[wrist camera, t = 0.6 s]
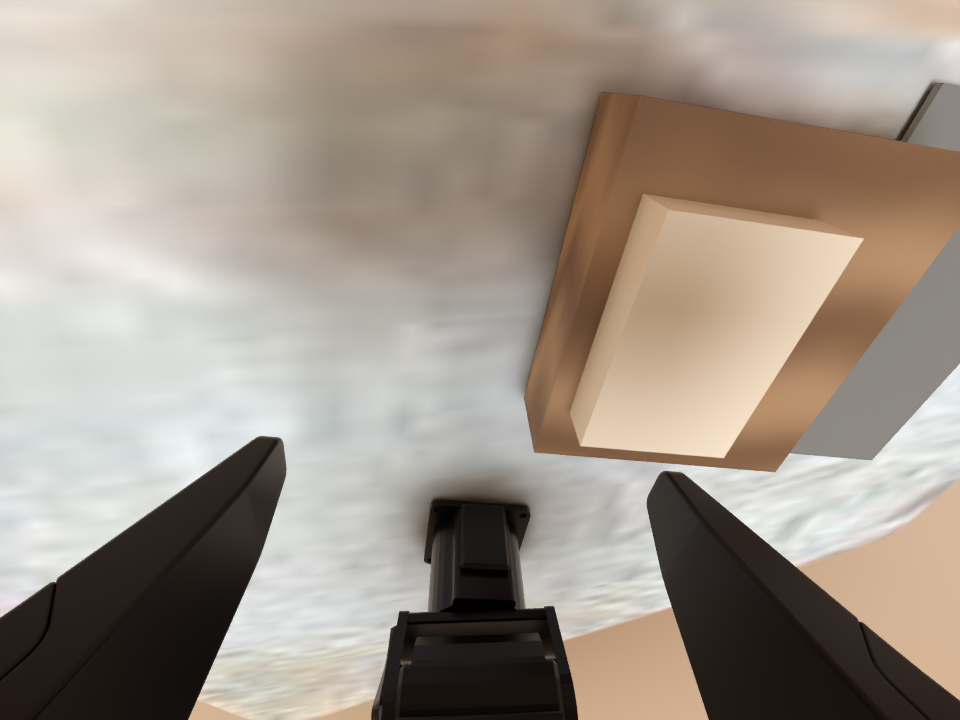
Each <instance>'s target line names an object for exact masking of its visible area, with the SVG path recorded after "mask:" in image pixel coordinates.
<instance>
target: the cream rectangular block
mask: <svg viewBox="0 0 960 720" xmlns="http://www.w3.org/2000/svg"><path fill="white" fill-rule="evenodd" d="M863 240H864V238H861V237H859V236H856V235H854V234H851V233H849V232H846V231H844V230H841V229H838V228H836V227H833V226H831V225H828V224H826V223H823V222H821V221H818V220H815V219H808V218H801V217H795V216H788V215H781V214H775V213H768V212H761V211H755V210H748V209H742V208H735V207H728V206H722V205H715V204H708V203H702V202H695V201H688V200H682V199H675V198H669V197H662V196H655V195H649V194H643V195H642V198H641V201H640V204H639V207H638V210H637V213H636V216H635V219H634V222H633V225H632V228H631V231H630V234H629V237H628V240H627V243H626V246H625V249H624V252H623V255H622V258H621V261H620V264H619V267H618V270H617V273H616V275H615V278H614V281H613V284H612V287H611V290H610V293H609V296H608V299H607V302H606V305H605V308H604V311H603V314H602V317H601V320H600V323H599V326H598V329H597V332H596V335H595V338H594V341H593V344H592V347H591V350H590V353H589V356H588V359H587V362H586V365H585V368H584V371H583V374H582V377H581V380H580V383H579V386H578V389H577V392H576V395H575V398H574V401H573V404H572V407H571V410H570V416H571V419H572V422H573V425H574V428H575V431H576V434H577V438H578V441H579V444H580V446H585V447H597V448H609V449H620V450H632V451H644V452H656V453H668V454H680V455H692V456H704V457H715V458H724V457H725V455H726V454H727V452H728V451H729V449H730V448H731V446H732V445H733V443H734V441H735V440H736V438H737V437H738V435H739V434H740V432H741V430H742V429H743V427H744V426H745V424H746V423H747V421H748V419H749V418H750V416H751V415H752V413H753V412H754V410H755V409H756V407H757V405H758V404H759V402H760V401H761V399H762V398H763V396H764V394H765V393H766V391H767V390H768V388H769V387H770V385H771V383H772V382H773V380H774V379H775V377H776V376H777V374H778V373H779V371H780V369H781V368H782V366H783V365H784V363H785V362H786V360H787V358H788V357H789V355H790V354H791V352H792V351H793V349H794V348H795V346H796V344H797V343H798V341H799V340H800V338H801V337H802V335H803V333H804V332H805V330H806V329H807V327H808V326H809V324H810V322H811V321H812V319H813V318H814V316H815V315H816V313H817V312H818V310H819V308H820V307H821V305H822V304H823V302H824V301H825V299H826V297H827V296H828V294H829V293H830V291H831V290H832V288H833V286H834V285H835V283H836V282H837V280H838V279H839V277H840V276H841V274H842V272H843V271H844V269H845V268H846V266H847V265H848V263H849V261H850V260H851V258H852V257H853V255H854V254H855V252H856V250H857V249H858V247H859V246H860V244H861V243H862V241H863Z"/></svg>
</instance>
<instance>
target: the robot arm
mask: <svg viewBox="0 0 960 720" xmlns="http://www.w3.org/2000/svg"><path fill="white" fill-rule="evenodd" d="M285 477H286V460H285V452H284V445H283V441H282V439H281V438H278V437H267V436H259V437H257V438H255V439H254V440H252V441H251V442H249V443H248V444H247V445H245V446H244V447H242V448H241V449H239V450H238V451H237V452H235V453H234V454H232V455H231V456H230V457H228V458H227V459H225V460H224V461H222V462H221V463H220V464H218V465H217V466H215V467H214V468H213V469H211V470H210V471H208V472H207V473H205V474H204V475H203V476H201V477H200V478H198V479H197V480H196V481H194V482H193V483H191V484H190V485H188V486H187V487H186V488H184V489H183V490H181V491H180V492H179V493H177V494H176V495H174V496H173V497H171V498H170V499H169V500H167V501H166V502H164V503H163V504H162V505H160V506H159V507H157V508H156V509H154V510H153V511H152V512H150V513H149V514H147V515H146V516H145V517H143V518H142V519H140V520H139V521H137V522H136V523H135V524H133V525H132V526H130V527H129V528H128V529H126V530H125V531H123V532H122V533H120V534H119V535H118V536H116V537H115V538H113V539H112V540H111V541H109V542H108V543H106V544H105V545H103V546H102V547H101V548H99V549H98V550H96V551H95V552H93V553H92V554H91V555H89V556H88V557H86V558H85V559H84V560H82V561H81V562H79V563H78V564H76V565H75V566H74V567H72V568H71V569H69V570H68V571H67V572H65V573H64V574H62V575H61V576H59V577H58V579H57V581H56V582H51V583H49V584H48V585H46V586H45V587H44V588H42V589H41V590H39V591H38V592H36V593H35V594H34V595H32V596H31V597H29V598H28V599H27V600H25V601H24V602H22V603H21V604H19V605H18V606H17V607H15V608H14V609H12V610H11V611H9V612H8V613H6V614H5V615H3V616H2V617H0V720H188V718H189V716H190V714H191V712H192V710H193V707H194V705H195V703H196V701H197V698H198V696H199V694H200V692H201V689H202V687H203V685H204V683H205V680H206V678H207V676H208V674H209V671H210V669H211V667H212V665H213V662H214V660H215V658H216V656H217V653H218V651H219V649H220V647H221V644H222V642H223V640H224V638H225V635H226V633H227V631H228V629H229V626H230V624H231V622H232V619H233V617H234V615H235V613H236V610H237V608H238V606H239V604H240V601H241V599H242V597H243V595H244V592H245V590H246V588H247V586H248V583H249V581H250V579H251V577H252V574H253V572H254V570H255V568H256V565H257V563H258V560H259V558H260V555H261V553H262V550H263V547H264V544H265V541H266V538H267V535H268V531H269V528H270V525H271V522H272V519H273V516H274V512H275V509H276V506H277V503H278V500H279V497H280V493H281V490H282V487H283V484H284V481H285ZM647 510H648V514H649V519H650V523H651V528H652V532H653V537H654V542H655V546H656V551H657V555H658V560H659V564H660V569H661V573H662V577H663V580H664V583H665V587H666V590H667V593H668V596H669V599H670V602H671V605H672V608H673V611H674V615H675V618H676V621H677V624H678V627H679V630H680V633H681V636H682V639H683V642H684V645H685V648H686V651H687V654H688V657H689V660H690V664H691V666H692V669H693V672H694V676H695V679H696V682H697V685H698V688H699V691H700V694H701V697H702V700H703V703H704V706H705V709H706V712H707V716H708V719H709V720H960V700H958V699H957V698H956V697H955V696H953V695H952V694H951V693H949V692H948V691H947V690H946V689H944V688H943V687H942V686H940V685H939V684H938V683H936V682H935V681H934V680H933V679H931V678H930V677H929V676H927V675H926V674H925V673H924V672H922V671H921V670H920V669H919V668H917V667H916V666H915V665H914V664H912V663H911V662H910V661H909V660H908V659H906V658H905V657H904V656H903V655H901V654H900V653H899V652H898V651H896V650H895V649H894V648H893V647H892V646H890V645H889V644H888V643H887V642H885V641H884V640H883V639H882V638H881V637H879V636H878V635H877V634H876V633H875V632H873V631H872V630H871V629H870V628H869V627H868V626H866V625H865V624H864V623H862V622H859V621H858V619H857V618H856V617H855V616H854V615H853V614H852V613H851V612H849V611H848V610H847V609H846V608H844V607H843V606H842V605H841V604H840V603H839V602H837V601H836V600H835V599H834V598H832V597H831V596H830V595H829V594H828V593H827V592H825V591H824V590H823V589H822V588H821V587H819V586H818V585H817V584H816V583H814V582H813V581H812V580H811V579H810V578H808V577H807V576H806V575H805V574H804V573H803V572H801V571H800V570H799V569H798V568H796V567H795V566H794V565H793V564H792V563H790V562H789V561H788V560H787V559H786V558H784V557H783V556H782V555H781V554H780V553H778V552H777V551H776V550H775V549H774V548H772V547H771V546H770V545H769V544H768V543H766V542H765V541H764V540H763V539H762V538H760V537H759V536H758V535H757V534H756V533H754V532H753V531H752V530H751V529H750V528H748V527H747V526H746V525H745V524H744V523H742V522H741V521H740V520H739V519H738V518H736V517H735V516H734V515H733V514H732V513H730V512H729V511H728V510H727V509H726V508H724V507H723V506H722V505H721V504H720V503H718V502H717V501H716V500H715V499H714V498H712V497H711V496H710V495H709V494H708V493H706V492H705V491H704V490H703V489H702V488H700V487H699V486H698V485H697V484H696V483H694V482H693V481H692V480H691V479H690V478H688V477H687V476H686V475H685V474H683V473H680V472H672V471H663V472H662V473H660V474H659V476H658V478H657V480H656V482H655V484H654V485H653V487H652V489H651V491H650V493H649V495H648V498H647ZM529 519H530V509H529V507H527V506H522V505H507V504H492V503H477V502H463V501H448V500H435V501H433V502H432V503H431V506H430V514H429V522H428V530H427V538H426V546H425V554H424V561H425V562H426V563H427V564H431V573H430V588H429V603H428V612H419V613H410V612H409V611H400V612H399V617H398V622H397V625H396V626H394V627H393V628H391V632H390V640H389V647H388V654H387V660H386V664H385V668H384V671H383V674H382V678H381V681H380V684H379V687H378V691H377V694H376V697H375V700H374V704H373V707H372V714H371V720H578V713H577V705H576V698H575V693H574V686H573V682H572V677H571V673H570V669H569V665H568V661H567V657H566V653H565V649H564V645H563V641H562V637H561V633H560V629H559V625H558V621H557V617H556V613H555V609H554V606H544V608H534V609H526V608H525V600H524V591H523V583H522V574H521V566H520V557H519V550H520V547H521V544H522V541H523V537H524V534H525V531H526V528H527V525H528V522H529Z"/></svg>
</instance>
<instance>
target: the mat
mask: <svg viewBox="0 0 960 720" xmlns="http://www.w3.org/2000/svg"><path fill="white" fill-rule="evenodd" d="M901 141H902V142H907V143H913V144H919V145H924V146H930V147H936V148H941V149H947V150H953V151H958V152H960V86H954V85H949V84H944V83H936V84H935V85H934V87H933V89H932V90H931V92H930V93H929V95H928V97H927V98H926V100H925V102H924V103H923V105H922V107H921V108H920V110H919V112H918V113H917V115H916V116H915V118H914V120H913V121H912V123H911V125H910V126H909V128H908V130H907V131H906V133H905V135H904V136H903V138H902V139H901ZM959 364H960V226H959V228H958V229H957V230H956V232H955V233H954V234H953V236H952V237H951V238H950V240H949V241H948V242H947V244H946V245H945V246H944V248H943V249H942V250H941V252H940V253H939V254H938V256H937V257H936V258H935V260H934V261H933V262H932V264H931V265H930V266H929V268H928V269H927V270H926V272H925V273H924V274H923V276H922V277H921V278H920V280H919V281H918V282H917V284H916V285H915V286H914V288H913V289H912V290H911V292H910V293H909V294H908V296H907V297H906V298H905V300H904V301H903V302H902V304H901V305H900V306H899V308H898V309H897V310H896V312H895V313H894V314H893V316H892V317H891V318H890V320H889V321H888V322H887V324H886V325H885V326H884V328H883V329H882V330H881V332H880V333H879V334H878V336H877V337H876V338H875V340H874V341H873V342H872V344H871V345H870V346H869V348H868V349H867V350H866V352H865V353H864V354H863V356H862V357H861V358H860V360H859V361H858V362H857V364H856V365H855V366H854V368H853V369H852V370H851V372H850V373H849V374H848V376H847V377H846V378H845V380H844V381H843V382H842V384H841V385H840V386H839V388H838V389H837V390H836V392H835V393H834V394H833V396H832V397H831V398H830V400H829V401H828V402H827V404H826V405H825V406H824V408H823V409H822V410H821V412H820V413H819V414H818V416H817V417H816V418H815V420H814V421H813V422H812V424H811V425H810V426H809V428H808V429H807V430H806V432H805V433H804V434H803V436H802V437H801V438H800V440H799V441H798V442H797V444H796V445H795V446H794V448H793V449H792V450H791V452H790V453H794V454H805V455H817V456H828V457H840V458H851V459H863V460H872V459H873V458H874V457H875V456H876V455H877V454H878V453H879V452H880V451H881V450H882V448H883V447H884V446H885V445H886V444H887V443H888V442H889V441H890V440H891V439H892V437H893V436H894V435H895V434H896V433H897V432H898V431H899V430H900V429H901V428H902V426H903V425H904V424H905V423H906V422H907V421H908V420H909V419H910V418H911V417H912V415H913V414H914V413H915V412H916V411H917V410H918V409H919V408H920V407H921V405H922V404H923V403H924V402H925V401H926V400H927V399H928V398H929V397H930V396H931V394H932V393H933V392H934V391H935V390H936V389H937V388H938V387H939V386H940V385H941V383H942V382H943V381H944V380H945V379H946V378H947V377H948V376H949V375H950V374H951V372H952V371H953V370H954V369H955V368H956V367H957V366H958V365H959Z"/></svg>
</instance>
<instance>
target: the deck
mask: <svg viewBox="0 0 960 720" xmlns="http://www.w3.org/2000/svg"><path fill="white" fill-rule="evenodd" d="M643 194H649V195H655V196H662V197H669V198H675V199H682V200H688V201H695V202H702V203H708V204H715V205H722V206H728V207H735V208H742V209H748V210H755V211H761V212H768V213H775V214H781V215H788V216H795V217H801V218H808V219H815V220H818V221H821V222H823V223H826V224H828V225H831V226H833V227H836V228H838V229H841V230H844V231H846V232H849V233H851V234H854V235H856V236H859V237H861V238H864V240H863V241H862V243H861V244H860V246H859V247H858V249H857V250H856V252H855V254H854V255H853V257H852V258H851V260H850V261H849V263H848V265H847V266H846V268H845V269H844V271H843V272H842V274H841V276H840V277H839V279H838V280H837V282H836V283H835V285H834V286H833V288H832V290H831V291H830V293H829V294H828V296H827V297H826V299H825V301H824V302H823V304H822V305H821V307H820V308H819V310H818V312H817V313H816V315H815V316H814V318H813V319H812V321H811V322H810V324H809V326H808V327H807V329H806V330H805V332H804V333H803V335H802V337H801V338H800V340H799V341H798V343H797V344H796V346H795V348H794V349H793V351H792V352H791V354H790V355H789V357H788V358H787V360H786V362H785V363H784V365H783V366H782V368H781V369H780V371H779V373H778V374H777V376H776V377H775V379H774V380H773V382H772V383H771V385H770V387H769V388H768V390H767V391H766V393H765V394H764V396H763V398H762V399H761V401H760V402H759V404H758V405H757V407H756V409H755V410H754V412H753V413H752V415H751V416H750V418H749V419H748V421H747V423H746V424H745V426H744V427H743V429H742V430H741V432H740V434H739V435H738V437H737V438H736V440H735V441H734V443H733V445H732V446H731V448H730V449H729V451H728V452H727V454H726V455H725V457H724V458H715V457H704V456H692V455H680V454H668V453H656V452H644V451H632V450H620V449H609V448H597V447H585V446H580V444H579V441H578V438H577V434H576V431H575V428H574V425H573V422H572V419H571V416H570V410H571V407H572V404H573V401H574V398H575V395H576V392H577V389H578V386H579V383H580V380H581V377H582V374H583V371H584V368H585V365H586V362H587V359H588V356H589V353H590V350H591V347H592V344H593V341H594V338H595V335H596V332H597V329H598V326H599V323H600V320H601V317H602V314H603V311H604V308H605V305H606V302H607V299H608V296H609V293H610V290H611V287H612V284H613V281H614V278H615V275H616V273H617V270H618V267H619V264H620V261H621V258H622V255H623V252H624V249H625V246H626V243H627V240H628V237H629V234H630V231H631V228H632V225H633V222H634V219H635V216H636V213H637V210H638V207H639V204H640V201H641V198H642V195H643ZM959 226H960V152H958V151H953V150H947V149H941V148H936V147H930V146H924V145H919V144H913V143H907V142H902V141H896V140H890V139H884V138H879V137H873V136H867V135H862V134H856V133H850V132H845V131H839V130H833V129H828V128H822V127H816V126H811V125H805V124H799V123H793V122H788V121H782V120H776V119H771V118H765V117H759V116H754V115H748V114H742V113H737V112H731V111H725V110H719V109H714V108H708V107H702V106H697V105H691V104H685V103H680V102H674V101H668V100H663V99H657V98H651V97H646V96H639V95H628V94H616V93H604V92H602V93H601V96H600V100H599V104H598V108H597V112H596V116H595V120H594V124H593V128H592V132H591V136H590V140H589V144H588V148H587V152H586V156H585V160H584V164H583V167H582V171H581V175H580V179H579V183H578V187H577V191H576V195H575V199H574V203H573V207H572V211H571V215H570V219H569V223H568V227H567V231H566V234H565V238H564V242H563V246H562V250H561V254H560V258H559V262H558V266H557V270H556V274H555V278H554V282H553V286H552V290H551V294H550V298H549V302H548V305H547V309H546V313H545V317H544V321H543V325H542V329H541V333H540V337H539V341H538V345H537V349H536V353H535V357H534V361H533V365H532V369H531V372H530V376H529V380H528V384H527V388H526V392H525V396H524V400H525V406H526V411H527V416H528V421H529V427H530V432H531V437H532V443H533V448H534V452H535V453H548V454H560V455H572V456H584V457H597V458H609V459H621V460H633V461H646V462H658V463H670V464H682V465H695V466H707V467H719V468H732V469H744V470H756V471H768V472H776V470H777V469H778V468H779V466H780V465H781V464H782V462H783V461H784V460H785V458H786V457H787V456H788V454H789V453H790V452H791V450H792V449H793V448H794V446H795V445H796V444H797V442H798V441H799V440H800V438H801V437H802V436H803V434H804V433H805V432H806V430H807V429H808V428H809V426H810V425H811V424H812V422H813V421H814V420H815V418H816V417H817V416H818V414H819V413H820V412H821V410H822V409H823V408H824V406H825V405H826V404H827V402H828V401H829V400H830V398H831V397H832V396H833V394H834V393H835V392H836V390H837V389H838V388H839V386H840V385H841V384H842V382H843V381H844V380H845V378H846V377H847V376H848V374H849V373H850V372H851V370H852V369H853V368H854V366H855V365H856V364H857V362H858V361H859V360H860V358H861V357H862V356H863V354H864V353H865V352H866V350H867V349H868V348H869V346H870V345H871V344H872V342H873V341H874V340H875V338H876V337H877V336H878V334H879V333H880V332H881V330H882V329H883V328H884V326H885V325H886V324H887V322H888V321H889V320H890V318H891V317H892V316H893V314H894V313H895V312H896V310H897V309H898V308H899V306H900V305H901V304H902V302H903V301H904V300H905V298H906V297H907V296H908V294H909V293H910V292H911V290H912V289H913V288H914V286H915V285H916V284H917V282H918V281H919V280H920V278H921V277H922V276H923V274H924V273H925V272H926V270H927V269H928V268H929V266H930V265H931V264H932V262H933V261H934V260H935V258H936V257H937V256H938V254H939V253H940V252H941V250H942V249H943V248H944V246H945V245H946V244H947V242H948V241H949V240H950V238H951V237H952V236H953V234H954V233H955V232H956V230H957V229H958V228H959Z"/></svg>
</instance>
